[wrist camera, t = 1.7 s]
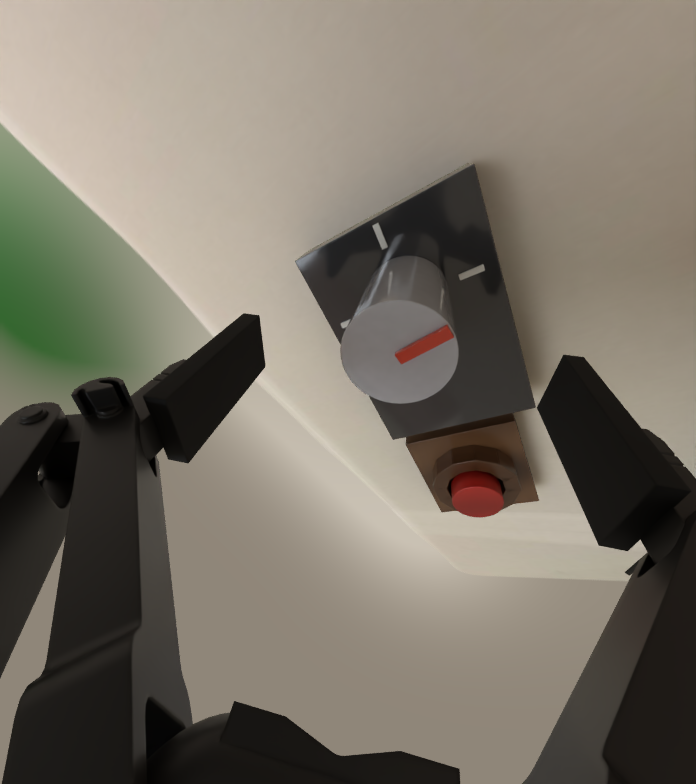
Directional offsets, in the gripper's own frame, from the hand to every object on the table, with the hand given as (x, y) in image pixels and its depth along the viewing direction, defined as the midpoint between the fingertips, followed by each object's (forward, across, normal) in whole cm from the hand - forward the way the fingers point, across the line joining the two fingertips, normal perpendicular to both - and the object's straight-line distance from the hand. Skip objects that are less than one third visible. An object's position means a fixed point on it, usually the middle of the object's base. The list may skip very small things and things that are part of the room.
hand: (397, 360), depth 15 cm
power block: (+11, +8, -15) cm, 20 cm away
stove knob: (+7, 0, 0) cm, 7 cm away
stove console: (+10, +1, -2) cm, 11 cm away
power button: (+7, +8, -15) cm, 19 cm away
